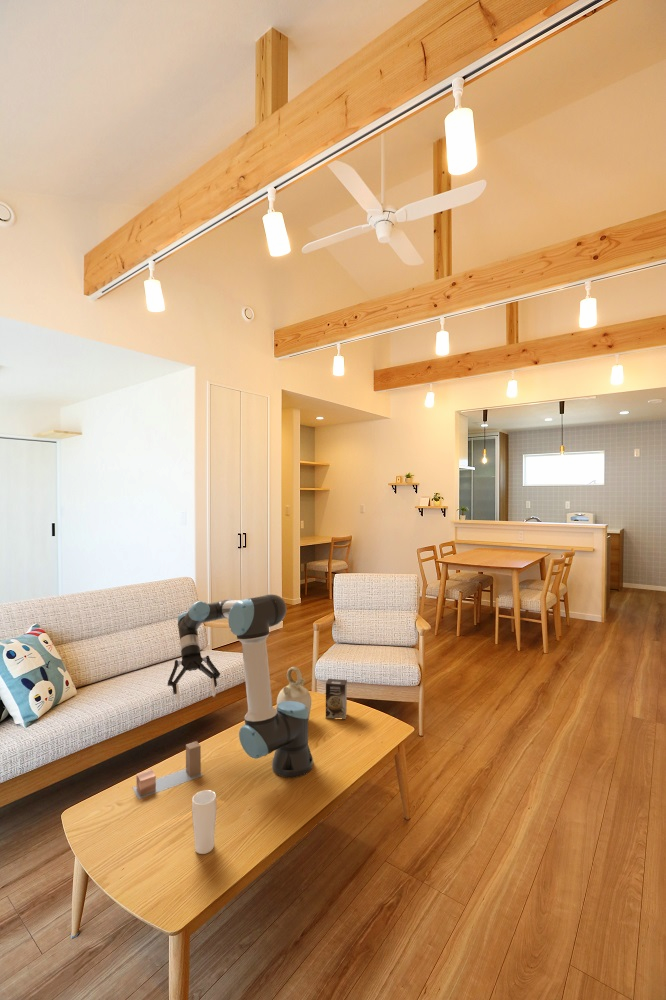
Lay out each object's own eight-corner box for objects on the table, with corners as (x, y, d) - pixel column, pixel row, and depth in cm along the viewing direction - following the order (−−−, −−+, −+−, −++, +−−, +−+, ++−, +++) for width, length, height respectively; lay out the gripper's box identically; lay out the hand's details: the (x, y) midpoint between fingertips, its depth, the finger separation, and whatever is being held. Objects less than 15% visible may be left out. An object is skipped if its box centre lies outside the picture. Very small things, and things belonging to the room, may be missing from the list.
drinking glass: (195, 840, 140) (194, 790, 140) (218, 839, 141) (218, 789, 141) (190, 858, 134) (189, 805, 133) (214, 856, 134) (214, 804, 134)
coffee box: (325, 719, 215) (325, 683, 215) (327, 712, 221) (327, 678, 221) (345, 720, 213) (345, 684, 213) (347, 713, 220) (347, 679, 220)
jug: (299, 711, 222) (299, 658, 222) (318, 724, 210) (318, 668, 209) (270, 721, 213) (270, 665, 213) (288, 735, 201) (288, 676, 200)
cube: (155, 790, 162) (155, 775, 162) (140, 795, 159) (140, 781, 159) (151, 783, 166) (151, 768, 166) (136, 788, 163) (136, 774, 163)
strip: (202, 778, 170) (202, 748, 170) (138, 802, 157) (138, 769, 157) (194, 768, 177) (194, 738, 177) (132, 790, 164) (132, 758, 164)
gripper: (218, 648, 206) (227, 696, 193) (157, 657, 195) (162, 708, 182) (221, 639, 201) (230, 688, 188) (159, 648, 190) (163, 700, 177)
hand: (196, 698), depth 185 cm, fingers open, 13 cm apart
